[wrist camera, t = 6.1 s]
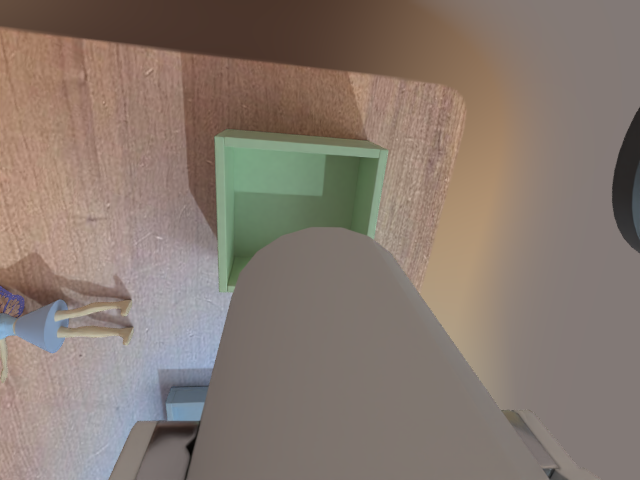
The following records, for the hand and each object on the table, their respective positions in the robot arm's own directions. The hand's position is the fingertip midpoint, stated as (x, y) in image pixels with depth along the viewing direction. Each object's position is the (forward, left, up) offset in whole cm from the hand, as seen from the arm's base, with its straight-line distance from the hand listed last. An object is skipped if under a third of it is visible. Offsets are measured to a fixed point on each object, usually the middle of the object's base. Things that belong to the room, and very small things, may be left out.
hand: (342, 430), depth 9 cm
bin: (0, 0, -21) cm, 21 cm away
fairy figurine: (+20, +11, -21) cm, 31 cm away
